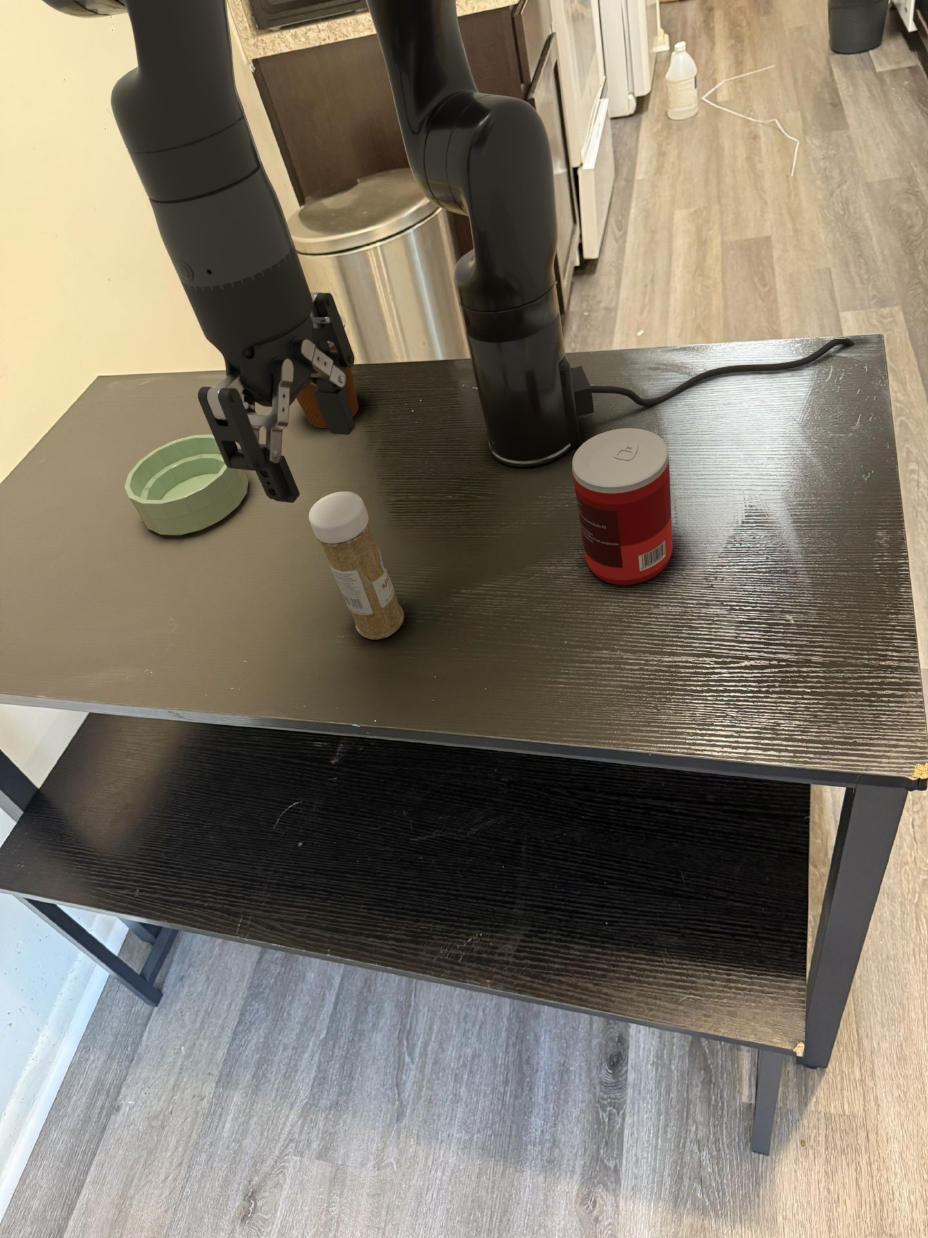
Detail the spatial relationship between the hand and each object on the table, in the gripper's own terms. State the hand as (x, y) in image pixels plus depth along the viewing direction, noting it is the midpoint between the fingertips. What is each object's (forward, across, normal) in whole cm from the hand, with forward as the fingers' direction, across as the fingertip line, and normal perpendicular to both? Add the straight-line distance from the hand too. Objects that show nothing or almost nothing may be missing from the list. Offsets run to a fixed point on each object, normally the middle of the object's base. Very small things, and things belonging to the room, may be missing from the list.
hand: (315, 463), depth 66 cm
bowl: (+18, +13, +30) cm, 37 cm away
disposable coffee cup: (+18, +31, +22) cm, 42 cm away
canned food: (+18, +13, -20) cm, 29 cm away
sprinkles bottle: (+18, 0, 0) cm, 18 cm away
